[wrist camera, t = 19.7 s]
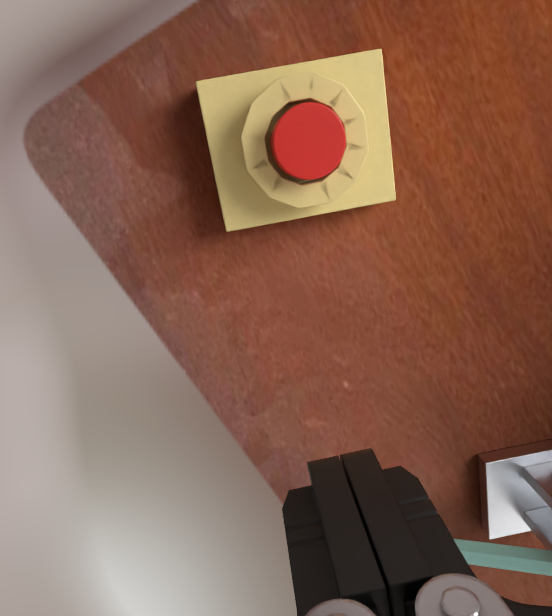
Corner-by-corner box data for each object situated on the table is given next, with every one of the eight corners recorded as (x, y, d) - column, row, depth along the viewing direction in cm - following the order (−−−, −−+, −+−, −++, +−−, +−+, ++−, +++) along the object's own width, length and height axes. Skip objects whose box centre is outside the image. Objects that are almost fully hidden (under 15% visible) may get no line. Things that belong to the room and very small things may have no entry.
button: (276, 184, 26) (279, 186, 24) (264, 112, 25) (266, 109, 23) (342, 172, 26) (350, 173, 24) (333, 100, 25) (341, 95, 23)
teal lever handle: (418, 559, 36) (415, 587, 34) (412, 503, 34) (409, 529, 32) (652, 592, 30) (667, 627, 28) (658, 528, 29) (673, 560, 27)
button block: (226, 227, 30) (225, 237, 26) (197, 87, 27) (192, 75, 24) (385, 197, 30) (407, 202, 26) (370, 56, 28) (392, 40, 24)
